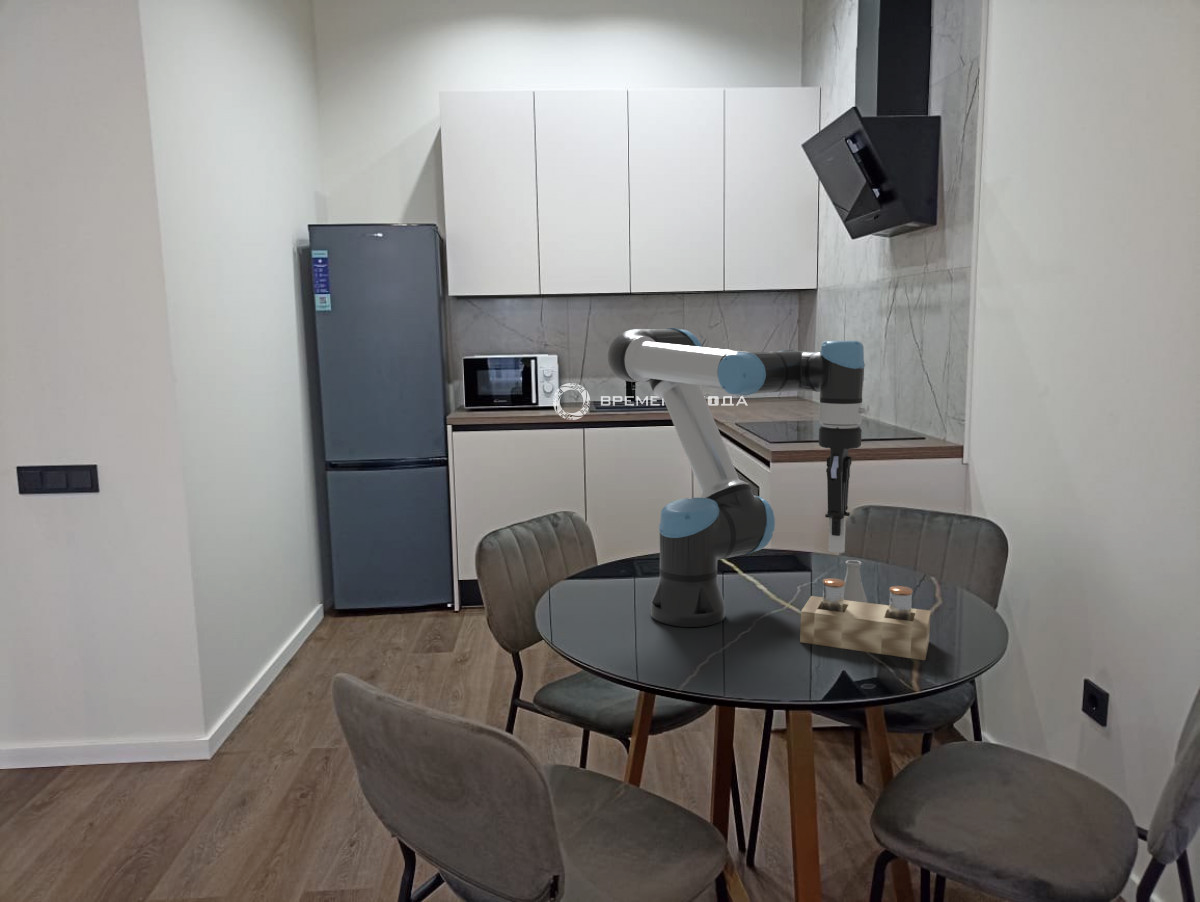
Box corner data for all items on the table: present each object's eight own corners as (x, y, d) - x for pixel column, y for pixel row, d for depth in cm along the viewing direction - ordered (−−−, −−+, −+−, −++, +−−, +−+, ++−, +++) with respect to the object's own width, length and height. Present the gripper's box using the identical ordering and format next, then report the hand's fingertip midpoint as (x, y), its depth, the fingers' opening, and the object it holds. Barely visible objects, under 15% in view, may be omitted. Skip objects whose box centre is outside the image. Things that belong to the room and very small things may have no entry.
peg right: (886, 621, 158) (888, 590, 157) (889, 614, 162) (890, 584, 161) (910, 624, 156) (911, 593, 156) (912, 617, 160) (913, 587, 159)
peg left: (820, 612, 163) (821, 583, 162) (823, 606, 167) (824, 577, 166) (841, 615, 161) (843, 585, 160) (845, 609, 165) (846, 579, 164)
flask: (871, 615, 177) (873, 567, 176) (834, 612, 179) (836, 565, 177) (867, 603, 184) (870, 558, 183) (832, 601, 186) (834, 556, 184)
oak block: (800, 642, 162) (801, 611, 161) (810, 625, 171) (811, 595, 170) (925, 660, 153) (927, 627, 152) (928, 641, 162) (930, 610, 161)
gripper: (856, 430, 151) (852, 561, 155) (866, 422, 163) (861, 545, 166) (812, 428, 154) (809, 557, 158) (825, 421, 166) (822, 541, 169)
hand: (836, 551), depth 162 cm, fingers closed
